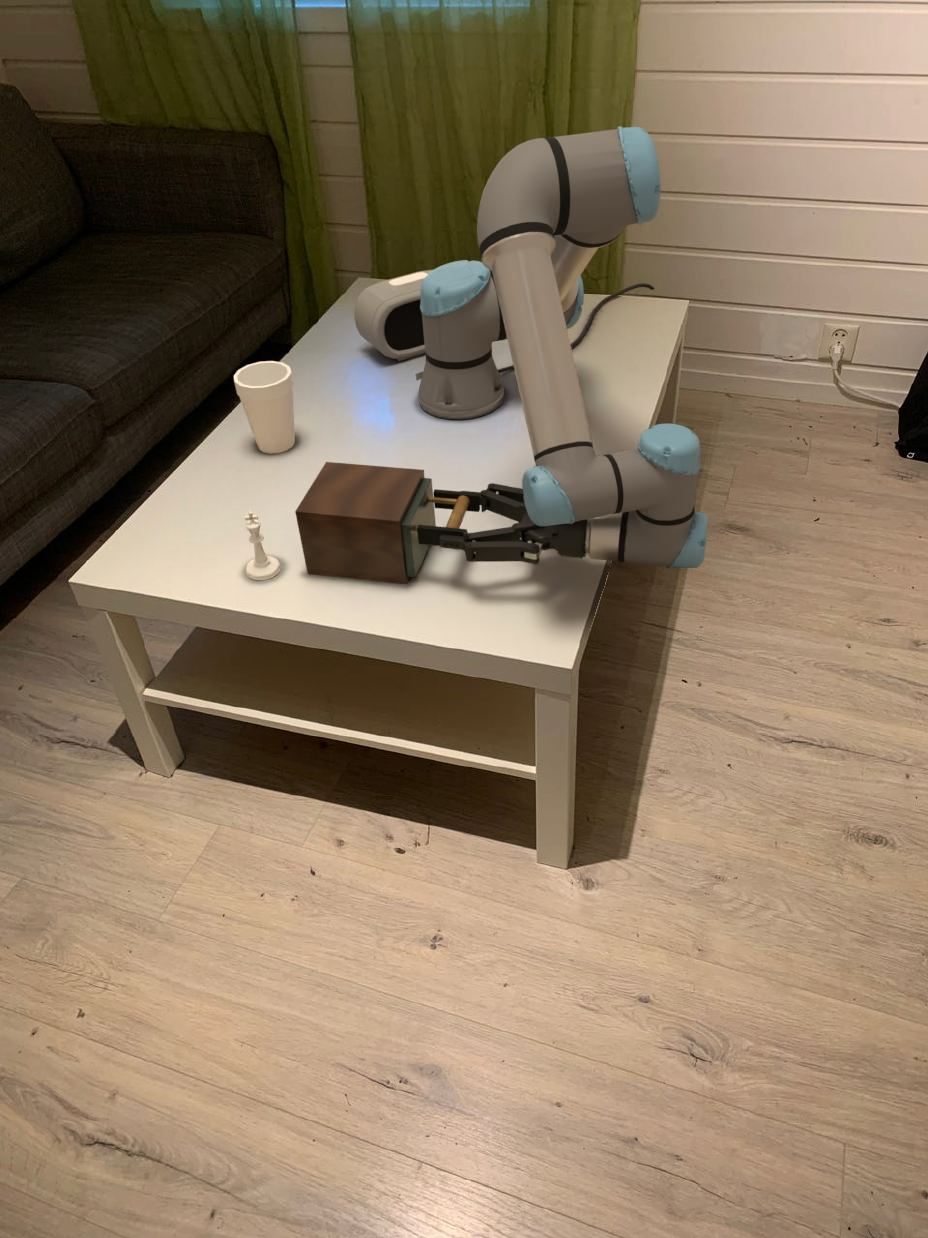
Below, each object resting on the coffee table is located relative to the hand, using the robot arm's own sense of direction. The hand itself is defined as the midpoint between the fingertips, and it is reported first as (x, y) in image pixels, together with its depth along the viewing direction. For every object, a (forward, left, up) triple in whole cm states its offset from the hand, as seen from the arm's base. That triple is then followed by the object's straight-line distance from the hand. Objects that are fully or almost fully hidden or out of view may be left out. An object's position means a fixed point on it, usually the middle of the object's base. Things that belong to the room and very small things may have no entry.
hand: (426, 516), depth 140 cm
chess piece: (+22, -10, -8) cm, 25 cm away
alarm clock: (-27, -64, -8) cm, 70 cm away
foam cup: (+9, -43, -8) cm, 45 cm away
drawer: (+3, -3, -6) cm, 8 cm away
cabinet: (+7, -6, -7) cm, 12 cm away
